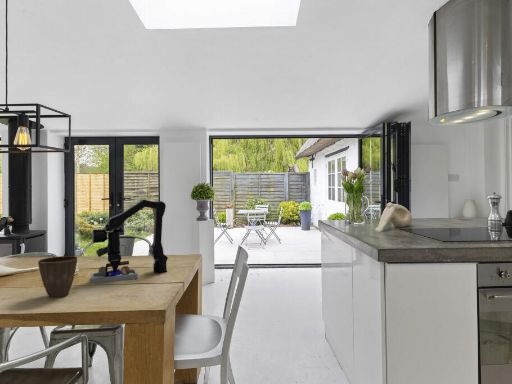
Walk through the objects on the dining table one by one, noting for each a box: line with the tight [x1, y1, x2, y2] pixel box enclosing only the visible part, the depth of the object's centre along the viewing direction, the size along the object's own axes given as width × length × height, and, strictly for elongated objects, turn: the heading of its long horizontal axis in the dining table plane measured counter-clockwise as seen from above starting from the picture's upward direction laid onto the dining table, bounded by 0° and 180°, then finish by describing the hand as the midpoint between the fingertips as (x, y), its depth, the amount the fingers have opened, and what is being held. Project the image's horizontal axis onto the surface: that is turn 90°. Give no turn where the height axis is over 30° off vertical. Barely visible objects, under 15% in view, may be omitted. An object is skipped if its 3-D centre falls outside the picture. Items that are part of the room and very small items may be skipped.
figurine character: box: [97, 260, 131, 277], centre depth 175 cm, size 7×8×15 cm
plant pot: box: [37, 255, 78, 299], centre depth 147 cm, size 15×15×16 cm
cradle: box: [90, 268, 139, 285], centre depth 175 cm, size 22×13×2 cm, turn 114°
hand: (114, 270), depth 175 cm, fingers open, 9 cm apart
